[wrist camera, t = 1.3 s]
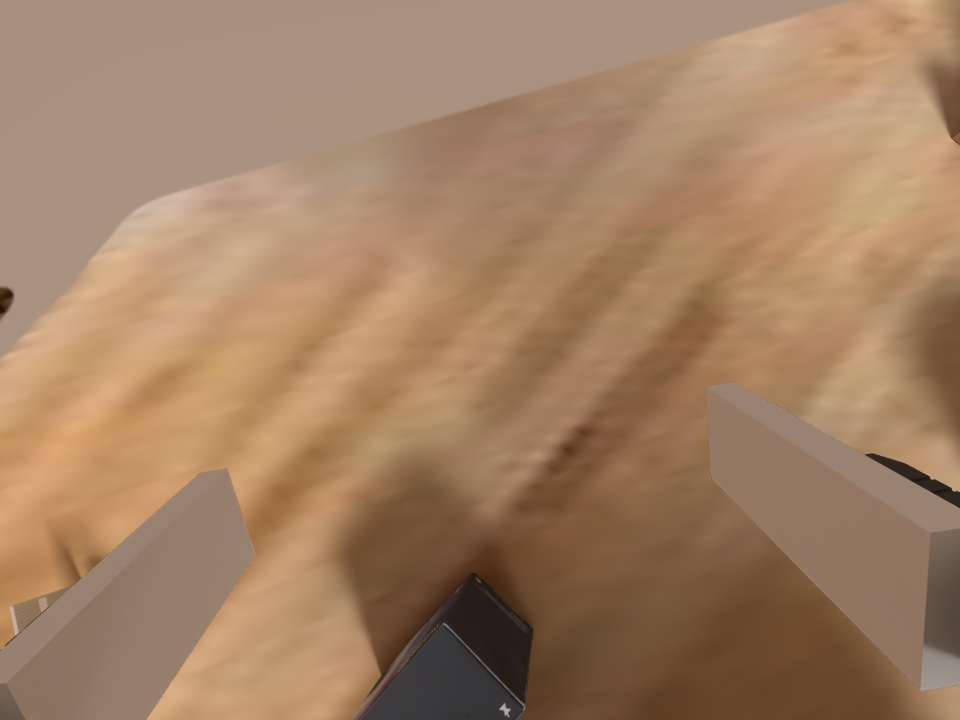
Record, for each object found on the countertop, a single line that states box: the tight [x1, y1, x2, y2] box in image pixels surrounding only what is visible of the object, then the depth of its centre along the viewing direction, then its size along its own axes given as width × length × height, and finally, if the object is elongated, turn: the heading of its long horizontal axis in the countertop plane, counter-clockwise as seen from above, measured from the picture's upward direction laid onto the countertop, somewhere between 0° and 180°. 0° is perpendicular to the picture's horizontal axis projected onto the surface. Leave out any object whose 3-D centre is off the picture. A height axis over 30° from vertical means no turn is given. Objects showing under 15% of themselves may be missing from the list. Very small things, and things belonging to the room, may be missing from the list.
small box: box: [351, 573, 533, 720], centre depth 31 cm, size 11×6×10 cm, turn 139°
